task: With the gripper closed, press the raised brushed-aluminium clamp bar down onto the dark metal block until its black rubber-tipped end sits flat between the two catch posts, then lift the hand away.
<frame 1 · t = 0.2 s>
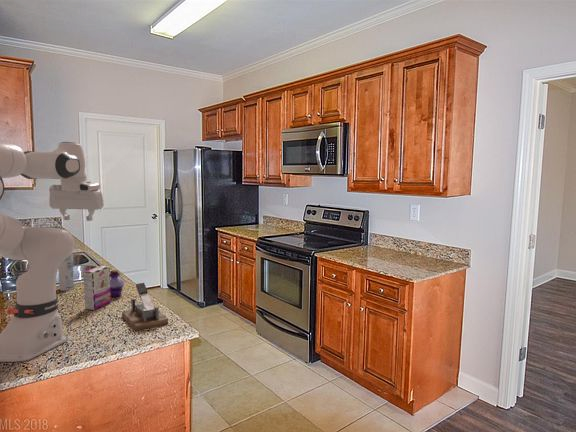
hand: (78, 220, 151), 39 cm above the worktop, tool pointing down, fingers open, 8 cm apart
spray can: (66, 289, 192), on the worktop
candy bar box: (98, 306, 168), on the worktop
walnut base plate: (144, 320, 152), on the worktop
clamp bar: (145, 297, 150), point 10 cm above the worktop, hinge at 30.0°
potion bottle: (115, 296, 182), on the worktop
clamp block: (144, 308, 151), on the walnut base plate, point 4 cm above the worktop
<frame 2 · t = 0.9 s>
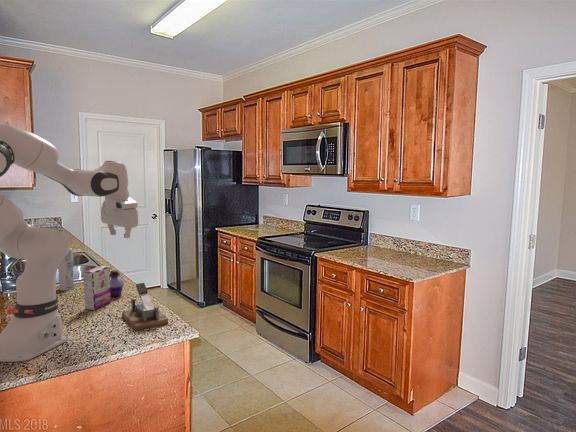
hand: (120, 236, 156), 32 cm above the worktop, tool pointing down, fingers open, 8 cm apart
nothing on the worktop moved.
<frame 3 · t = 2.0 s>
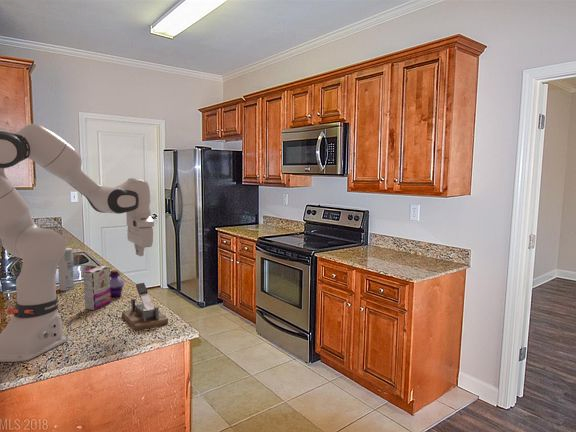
hand: (139, 255, 152), 25 cm above the worktop, tool pointing down, fingers closed
nothing on the worktop moved.
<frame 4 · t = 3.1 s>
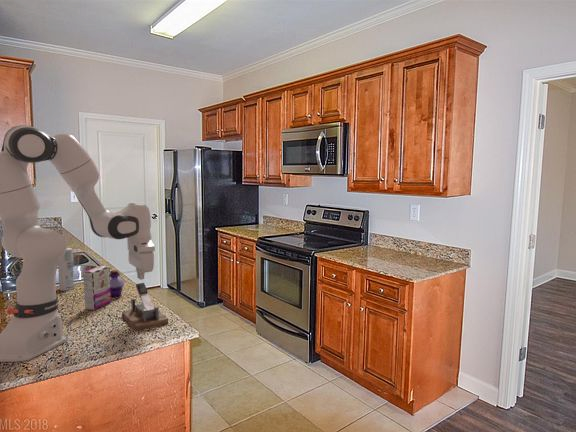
hand: (140, 278, 154), 16 cm above the worktop, tool pointing down, fingers closed
nothing on the worktop moved.
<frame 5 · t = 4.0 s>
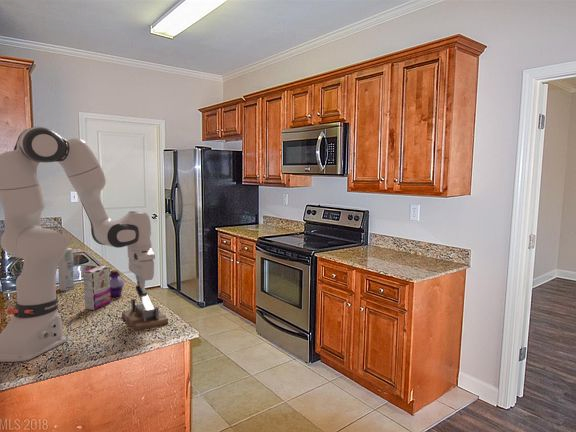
hand: (140, 286, 154), 13 cm above the worktop, tool pointing down, fingers closed
clamp bar: (144, 298, 150), point 9 cm above the worktop, hinge at 24.8°, touching gripper
everything else where it was.
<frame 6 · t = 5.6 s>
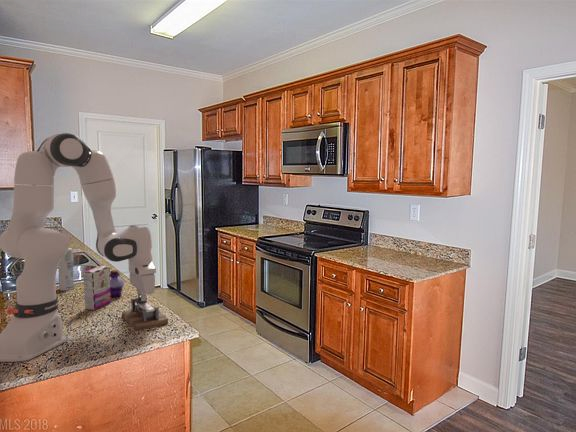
hand: (142, 299, 155), 7 cm above the worktop, tool pointing down, fingers closed on clamp bar, 2 cm apart
clamp bar: (144, 304, 151), point 6 cm above the worktop, hinge at 1.2°, touching gripper
everything else where it was.
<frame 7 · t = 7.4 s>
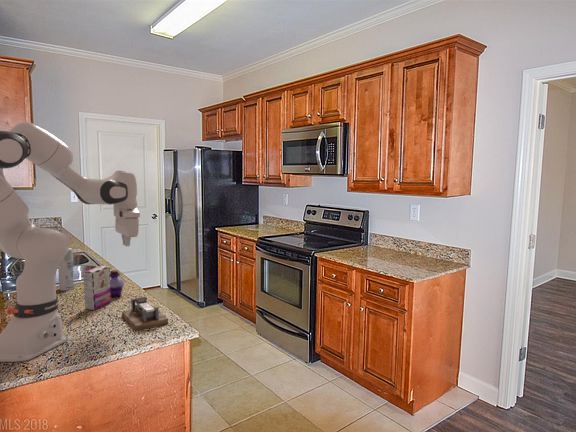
hand: (126, 245, 157), 28 cm above the worktop, tool pointing down, fingers closed
clamp bar: (144, 304, 151), point 6 cm above the worktop, hinge at 1.2°
everything else where it was.
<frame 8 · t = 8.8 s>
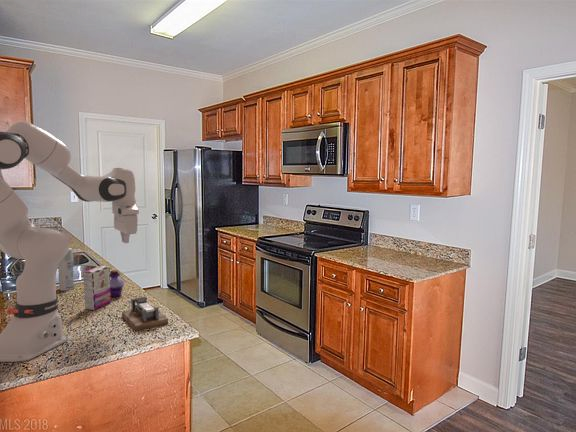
hand: (125, 242, 158), 29 cm above the worktop, tool pointing down, fingers closed
nothing on the worktop moved.
at the end: clamp bar at +1° (first picture: +30°); the gripper is holding nothing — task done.
